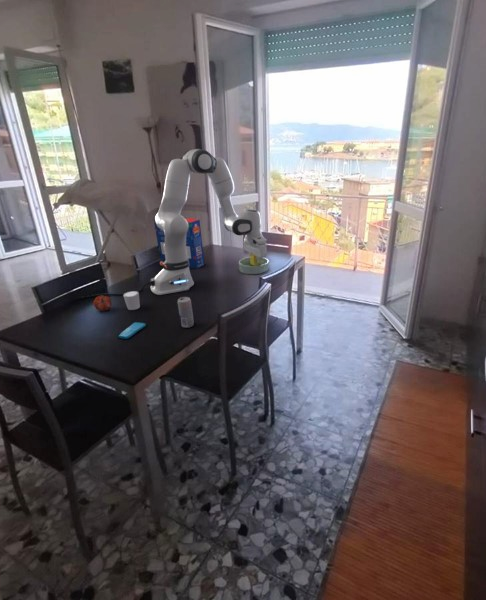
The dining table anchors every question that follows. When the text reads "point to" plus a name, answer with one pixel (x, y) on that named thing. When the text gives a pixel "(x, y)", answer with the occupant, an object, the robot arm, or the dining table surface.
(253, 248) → the robot arm
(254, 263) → the scrub block
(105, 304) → the pomegranate
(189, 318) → the energy drink
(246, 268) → the basin
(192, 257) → the pasta box
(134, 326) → the sponge
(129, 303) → the white cylinder
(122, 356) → the dining table surface
